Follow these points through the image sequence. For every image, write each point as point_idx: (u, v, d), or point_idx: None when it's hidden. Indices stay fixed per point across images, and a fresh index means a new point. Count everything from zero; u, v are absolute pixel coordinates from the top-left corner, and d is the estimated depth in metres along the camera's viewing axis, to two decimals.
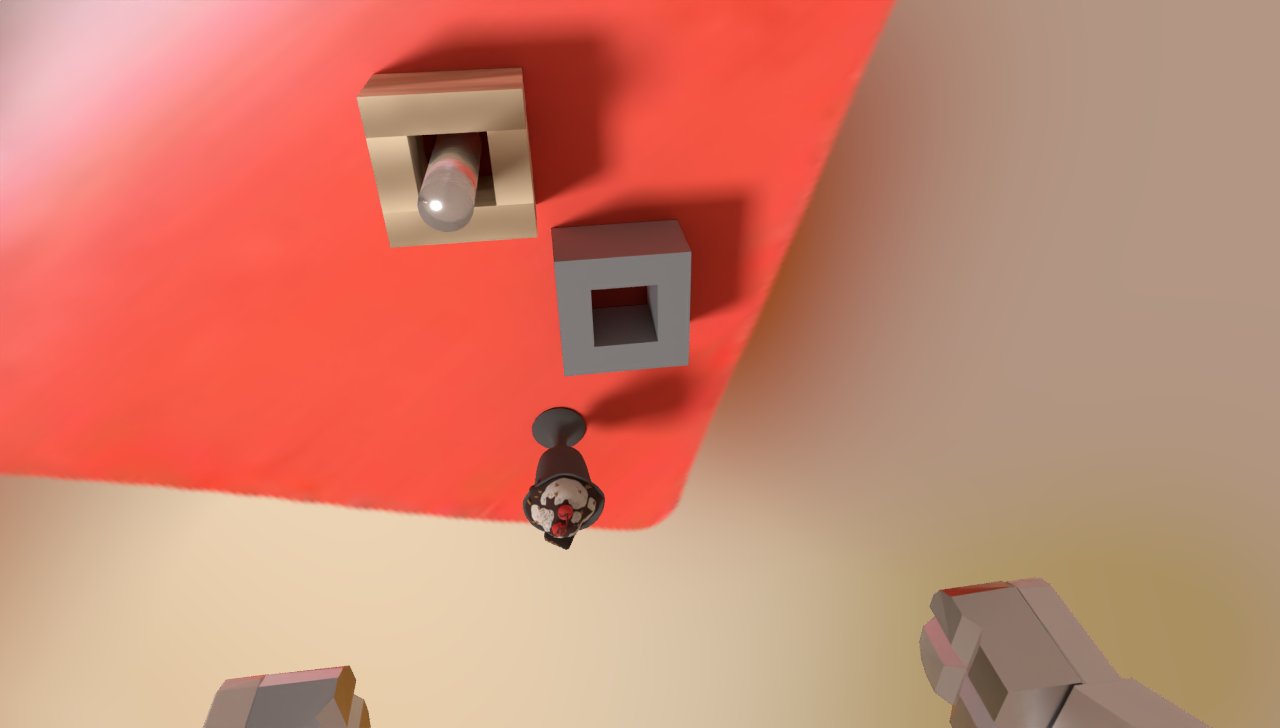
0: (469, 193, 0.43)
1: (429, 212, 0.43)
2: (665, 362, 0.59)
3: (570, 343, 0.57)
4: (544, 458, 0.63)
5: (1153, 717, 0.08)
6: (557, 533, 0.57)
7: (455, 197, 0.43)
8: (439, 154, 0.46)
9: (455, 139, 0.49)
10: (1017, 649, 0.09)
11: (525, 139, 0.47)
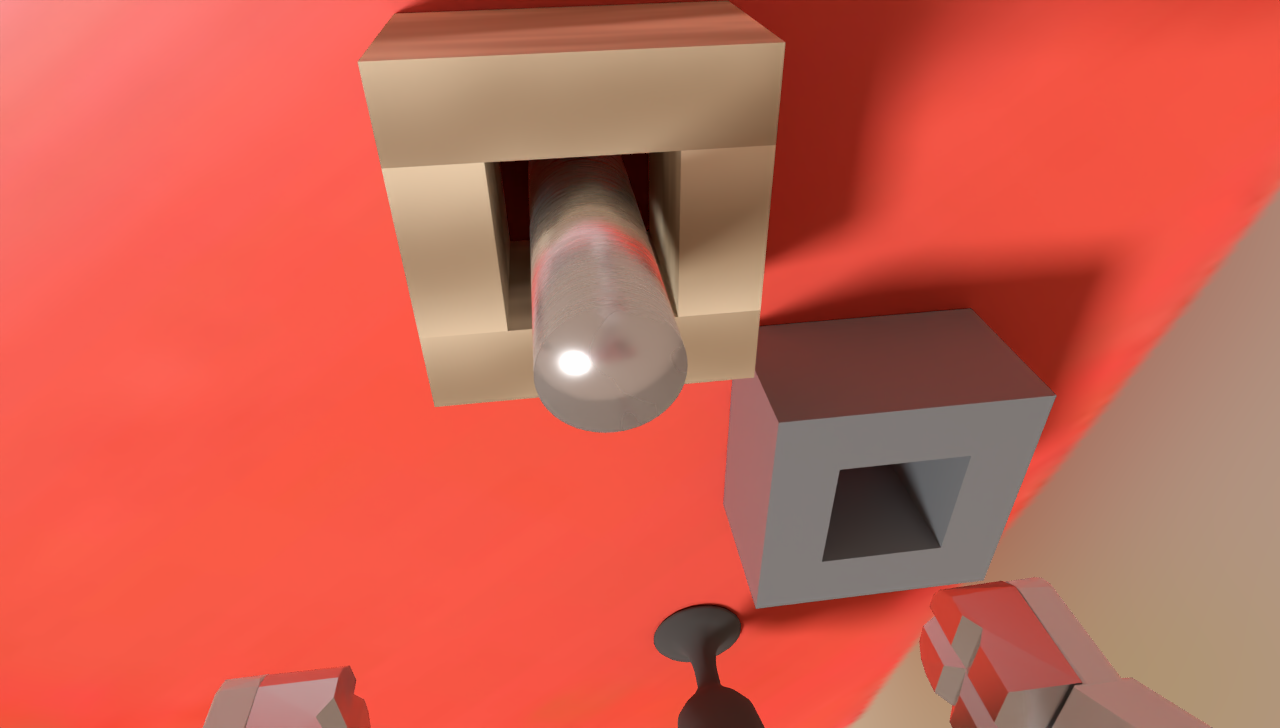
0: (680, 336, 0.15)
1: (564, 389, 0.15)
2: (943, 578, 0.31)
3: (778, 558, 0.29)
4: (694, 723, 0.35)
5: (1153, 716, 0.08)
6: None
7: (642, 349, 0.15)
8: (567, 209, 0.18)
9: (590, 166, 0.21)
10: (1017, 649, 0.09)
11: (769, 169, 0.19)
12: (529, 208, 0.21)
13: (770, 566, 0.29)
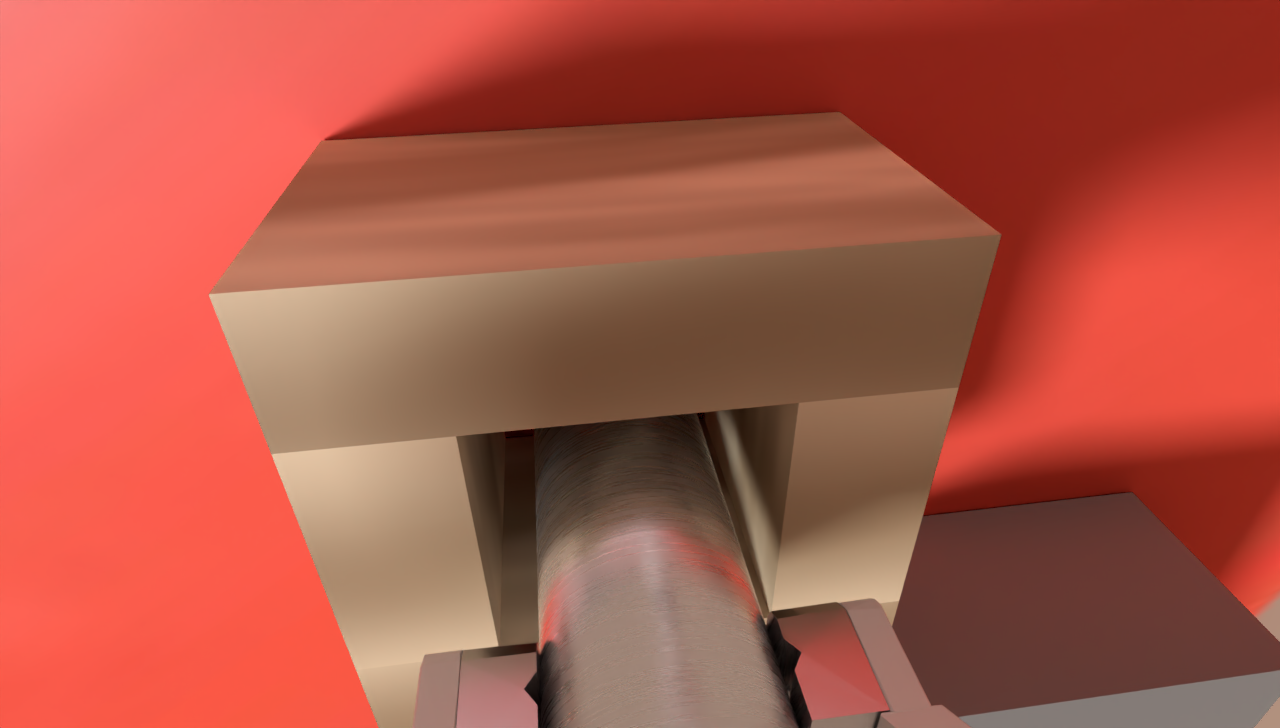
0: None
1: None
2: None
3: None
4: None
5: None
6: None
7: None
8: (603, 520, 0.10)
9: None
10: (831, 675, 0.09)
11: (942, 422, 0.11)
12: (534, 449, 0.14)
13: None
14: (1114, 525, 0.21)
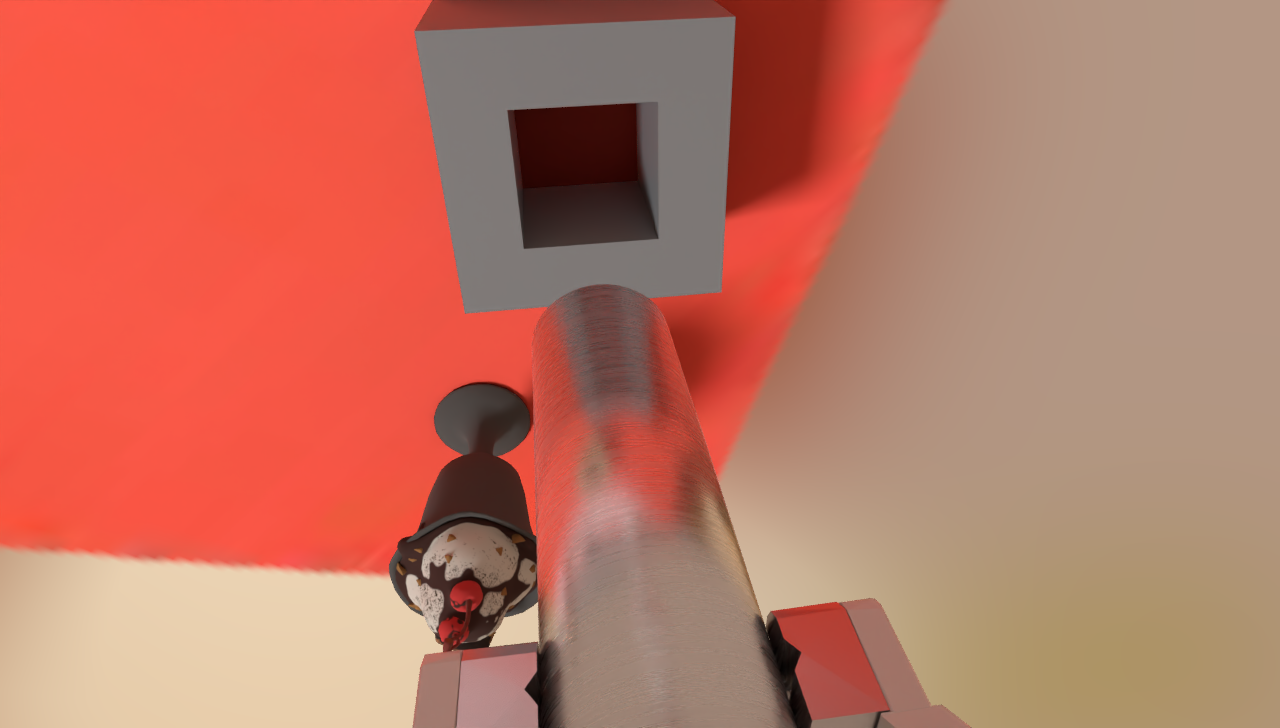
0: None
1: None
2: (674, 286, 0.29)
3: (471, 240, 0.26)
4: (441, 478, 0.33)
5: None
6: None
7: None
8: (603, 523, 0.10)
9: (634, 399, 0.13)
10: (831, 674, 0.09)
11: None
12: (534, 451, 0.14)
13: (464, 251, 0.27)
14: None
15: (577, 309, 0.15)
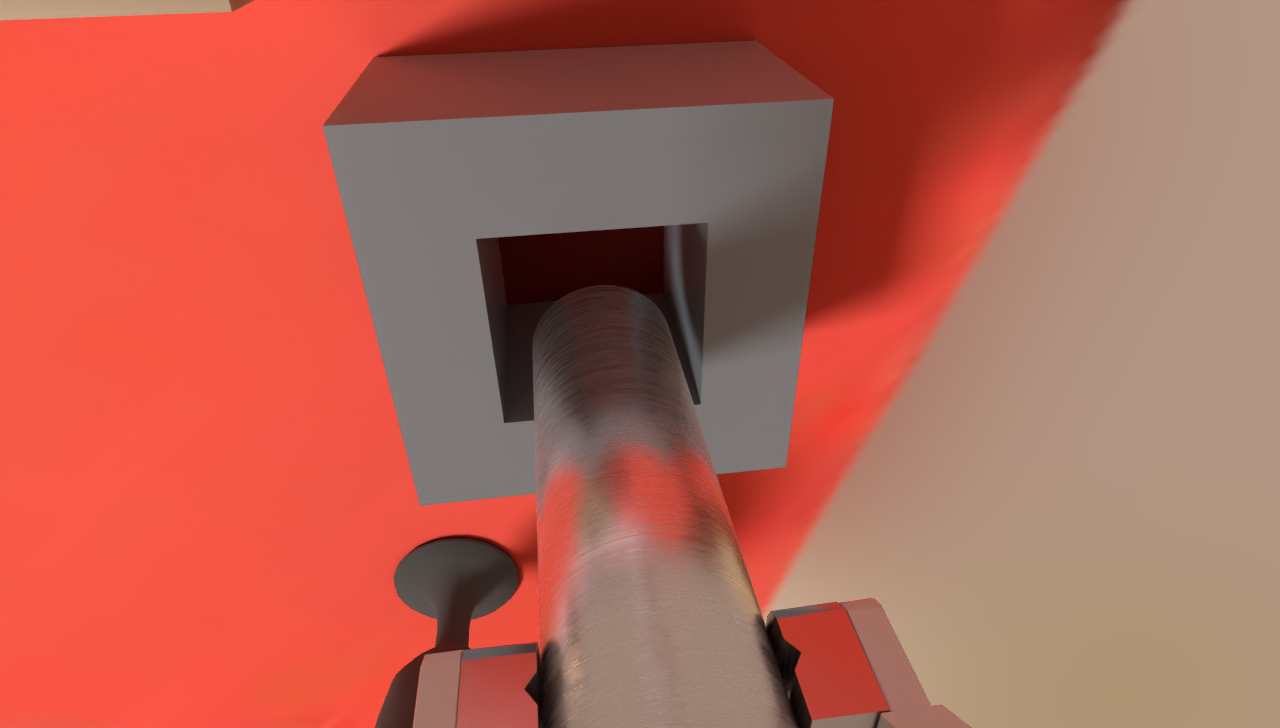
0: None
1: None
2: (720, 462, 0.20)
3: (426, 414, 0.18)
4: (394, 695, 0.24)
5: None
6: None
7: None
8: (603, 524, 0.10)
9: (635, 400, 0.13)
10: (831, 674, 0.09)
11: None
12: (535, 452, 0.14)
13: (417, 428, 0.18)
14: (713, 52, 0.19)
15: (578, 310, 0.15)
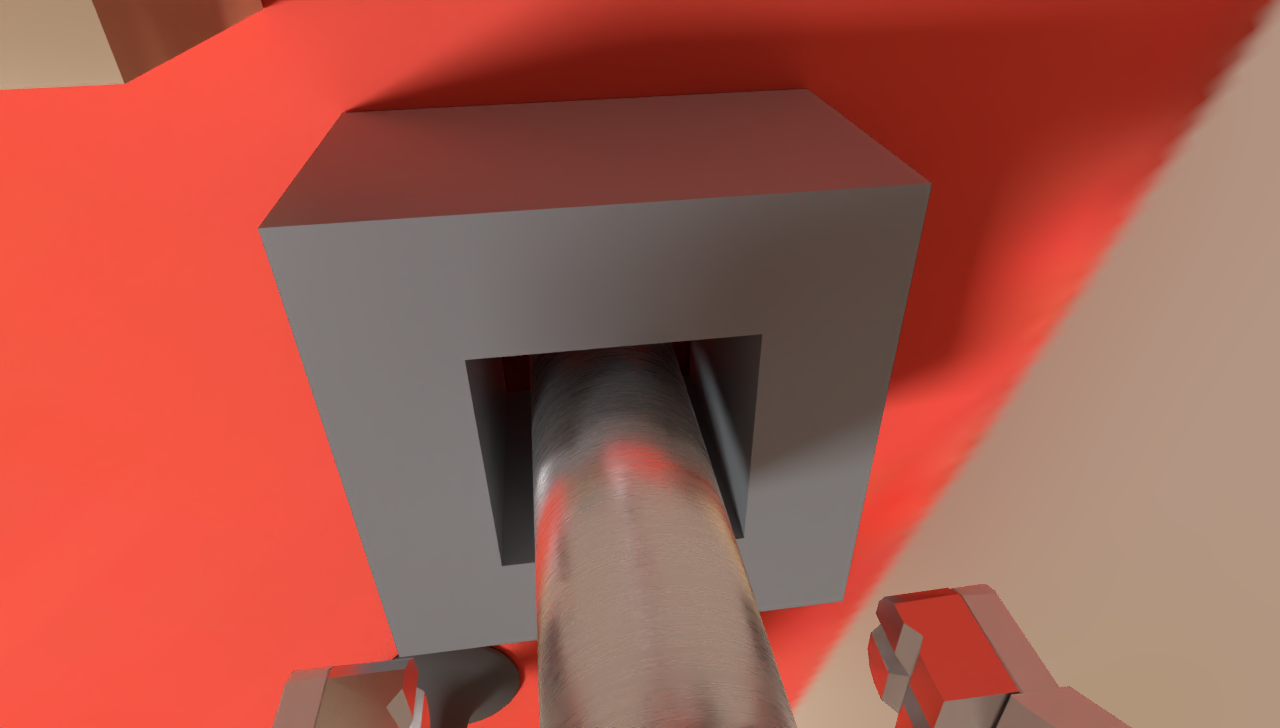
0: None
1: None
2: (764, 598, 0.17)
3: (404, 559, 0.14)
4: None
5: (1088, 725, 0.08)
6: None
7: None
8: (589, 433, 0.12)
9: None
10: (956, 657, 0.09)
11: None
12: None
13: (393, 575, 0.15)
14: (758, 106, 0.15)
15: None
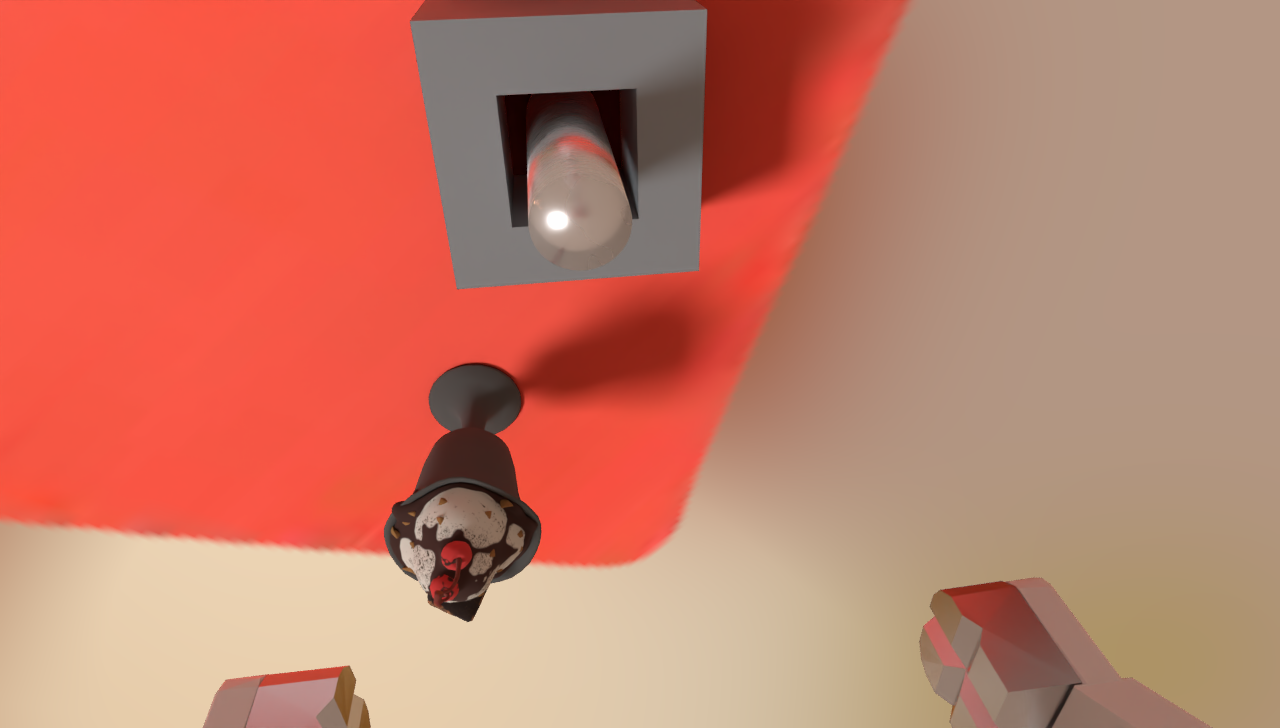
0: (626, 198, 0.23)
1: (549, 235, 0.23)
2: (654, 264, 0.30)
3: (463, 218, 0.28)
4: (434, 450, 0.34)
5: (1152, 716, 0.08)
6: None
7: (600, 206, 0.22)
8: (552, 128, 0.26)
9: (571, 104, 0.28)
10: (1017, 649, 0.09)
11: None
12: None
13: (456, 229, 0.28)
14: None
15: None
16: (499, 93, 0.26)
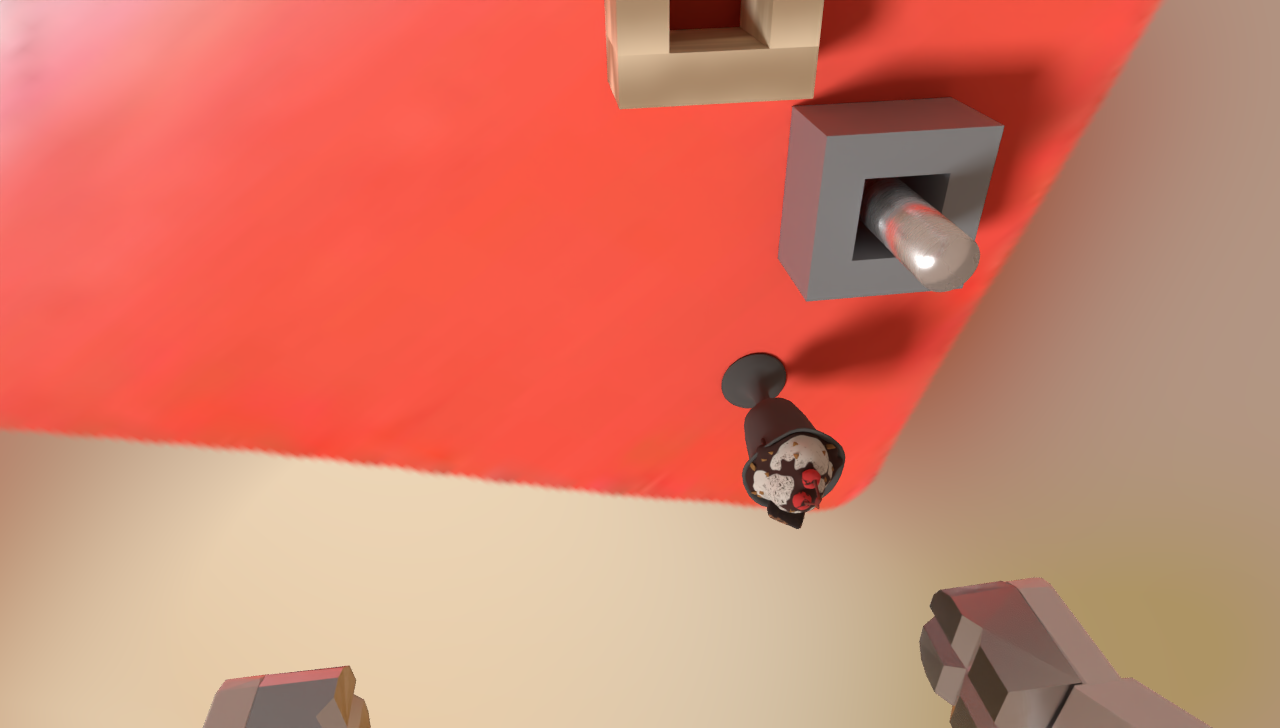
0: None
1: (929, 271, 0.37)
2: None
3: (823, 255, 0.43)
4: (758, 413, 0.49)
5: (1152, 716, 0.08)
6: (801, 506, 0.44)
7: (963, 253, 0.37)
8: (901, 199, 0.41)
9: (895, 180, 0.43)
10: (1017, 649, 0.09)
11: None
12: None
13: (817, 262, 0.43)
14: (938, 103, 0.44)
15: None
16: (867, 177, 0.41)
